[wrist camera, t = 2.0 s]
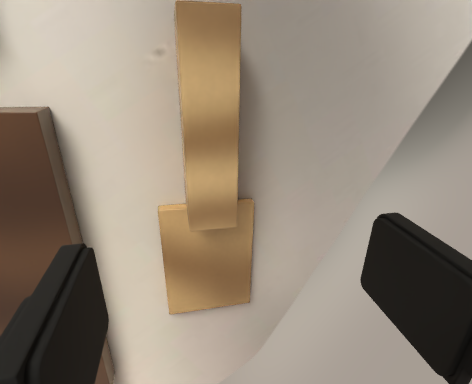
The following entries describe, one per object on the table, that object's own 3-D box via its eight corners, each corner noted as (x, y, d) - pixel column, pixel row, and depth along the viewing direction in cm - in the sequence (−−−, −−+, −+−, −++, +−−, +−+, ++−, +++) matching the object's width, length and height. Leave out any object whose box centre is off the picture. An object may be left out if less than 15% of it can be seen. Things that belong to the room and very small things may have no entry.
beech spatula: (136, 10, 16) (127, -3, 12) (259, 16, 17) (283, 5, 14) (169, 307, 25) (169, 349, 21) (247, 296, 26) (259, 333, 23)
